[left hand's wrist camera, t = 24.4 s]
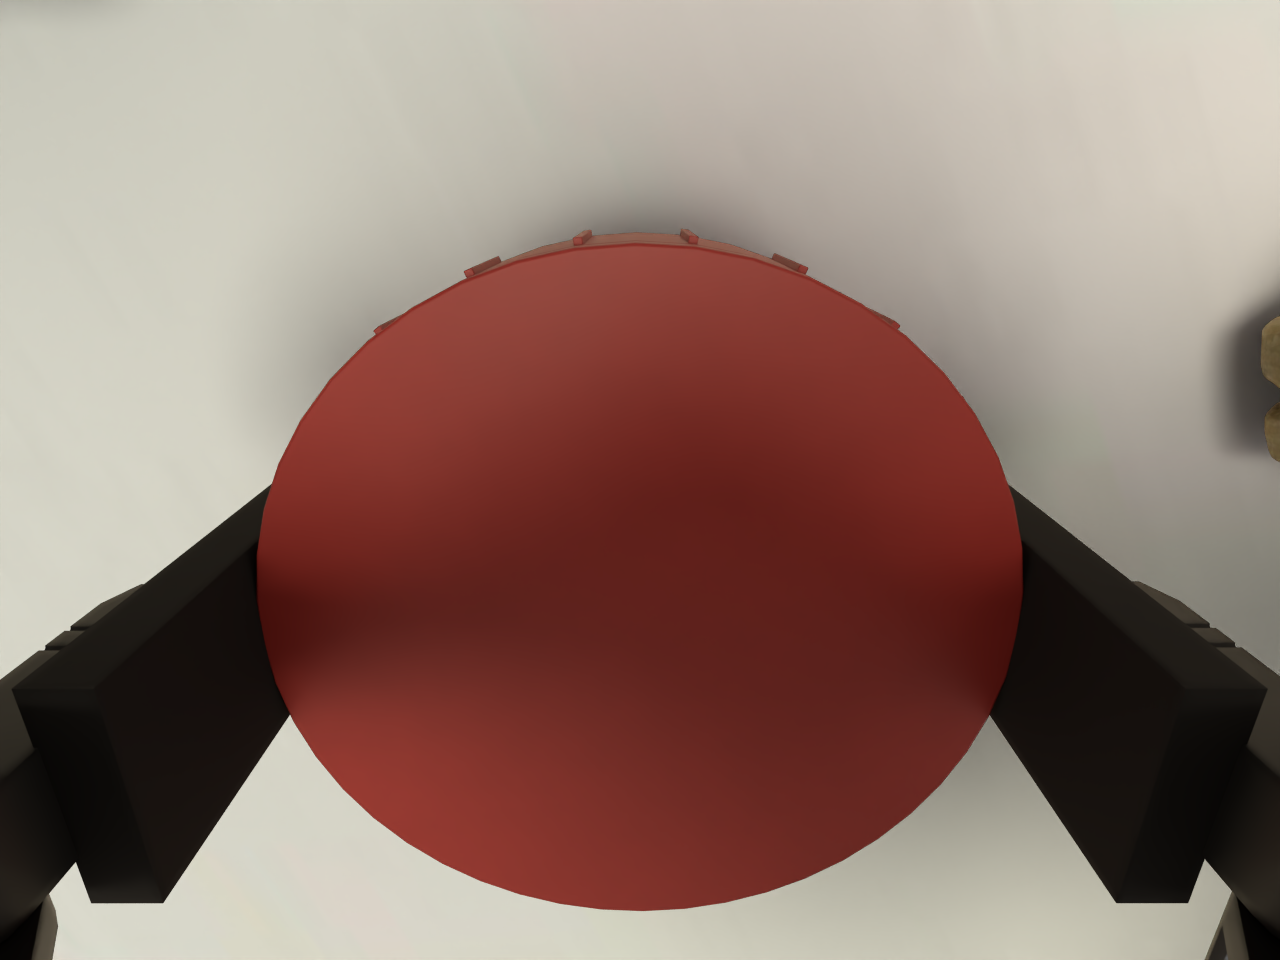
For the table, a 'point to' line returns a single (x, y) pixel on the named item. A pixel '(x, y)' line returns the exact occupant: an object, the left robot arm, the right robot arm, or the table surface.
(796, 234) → the table surface
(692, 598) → the lid
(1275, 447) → the sculpture
